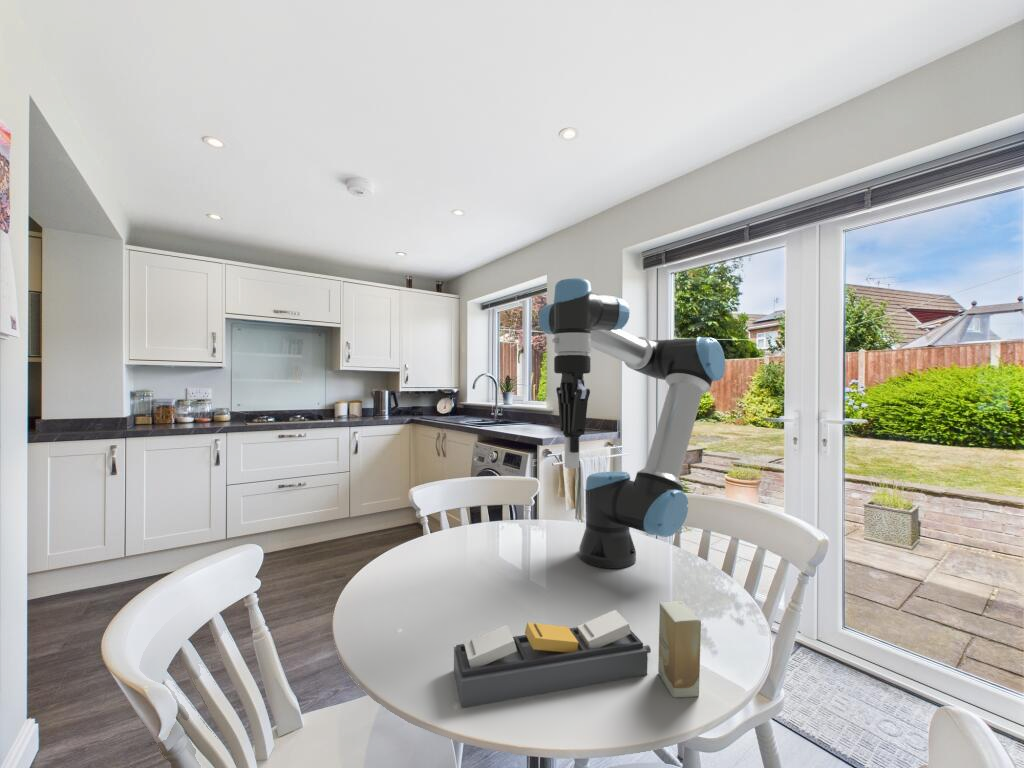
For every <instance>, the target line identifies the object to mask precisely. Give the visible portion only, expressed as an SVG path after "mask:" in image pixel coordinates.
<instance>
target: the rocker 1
mask: <svg viewBox="0 0 1024 768" xmlns="http://www.w3.org/2000/svg"><path fill="white" fill-rule="evenodd" d="M513 637H514V636H513V634H512V632H511V630H510V628H509V625H508V624H505V625H503V626H500V627H498V628H496V629H494V630H491V631H488V632H486V633H483V634H480V635H478V636H476V637H474V638H471V639H469V640H466V641H463V644H464V645H465V649H466V653H467V657H468V661H469V664H470V668H475V667H481V666H483V665H486V664H488V663H490V662H493V661H495V660H497V659H500V658H502V657H504V656H507V655H509V654H511V653H514V652H516V651H517V649H516V645H515V641H514V639H513Z"/></svg>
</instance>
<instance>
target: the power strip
mask: <svg viewBox="0 0 1024 768" xmlns="http://www.w3.org/2000/svg"><path fill="white" fill-rule="evenodd" d="M569 629H570V631H571V632H572V634H573V635H574V636H575V638H576V639H577V641H578V642H579V643H578V647H577V651H576V652H570V653H568V652H557V651H547V650H536V649H533V648H532V646H531V644H530V642H529V640H528V638H527V636H526V634H522V635H515V636H512V637H513V639H514V641H515V645H516V649H517V651H516V652H514V653H511V654H509V655H507V656H504V657H502V658H500V659H497V660H495V661H493V662H490V663H488V664H486V665H483V666H481V667H475V668H470V664H469V661H468V657H467V653H466V649H465V645H464V643H460V644H456V646H453V672H454V677H455V683H456V688H457V692H458V697H459V702H460V703H459V704H460V708H468V707H469V708H470V707H474V706H479V705H484V704H490V703H496V702H500V701H501V702H503V701H507V700H513V699H517V698H518V699H519V698H525V697H530V696H535V695H536V696H537V695H539V694H546V693H552V692H558V691H562V690H567V689H568V690H570V689H573V688H575V689H576V688H578V687H579V688H581V687H586V686H592V685H596V684H597V685H598V684H601V683H608V682H612V681H618V680H619V681H620V680H623V679H630V678H635V677H641V676H645V675H648V654H650V653H652V652H651V651H652V650H651V646H650V645H649V644H647V645H646V644H645V645H644V642H643V641H642V640H641V639H640V638H639V637H638V636H637V634H635V632H633V631H632V629H630V631H631V634H629V635H627V636H625V637H622V638H620V639H618V640H616V641H613V642H611V643H609V644H607V645H604V646H602V647H600V648H595V649H589V648H588V647H587V645H586V644H585V642H584V641H583V639H582V638H581V637H580V635H579V631H578V627H572V628H569Z"/></svg>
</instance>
